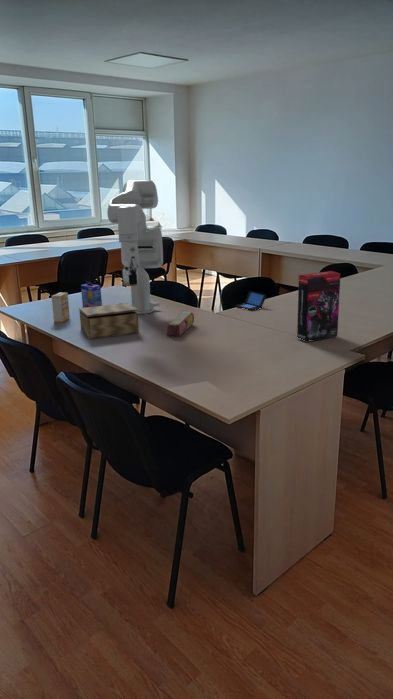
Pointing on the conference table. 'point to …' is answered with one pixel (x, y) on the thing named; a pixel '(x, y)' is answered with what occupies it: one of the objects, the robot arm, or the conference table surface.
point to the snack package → (180, 324)
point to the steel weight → (126, 278)
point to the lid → (107, 309)
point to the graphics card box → (318, 305)
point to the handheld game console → (253, 301)
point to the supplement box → (60, 307)
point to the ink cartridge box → (91, 295)
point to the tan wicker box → (109, 324)
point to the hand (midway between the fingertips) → (130, 282)
